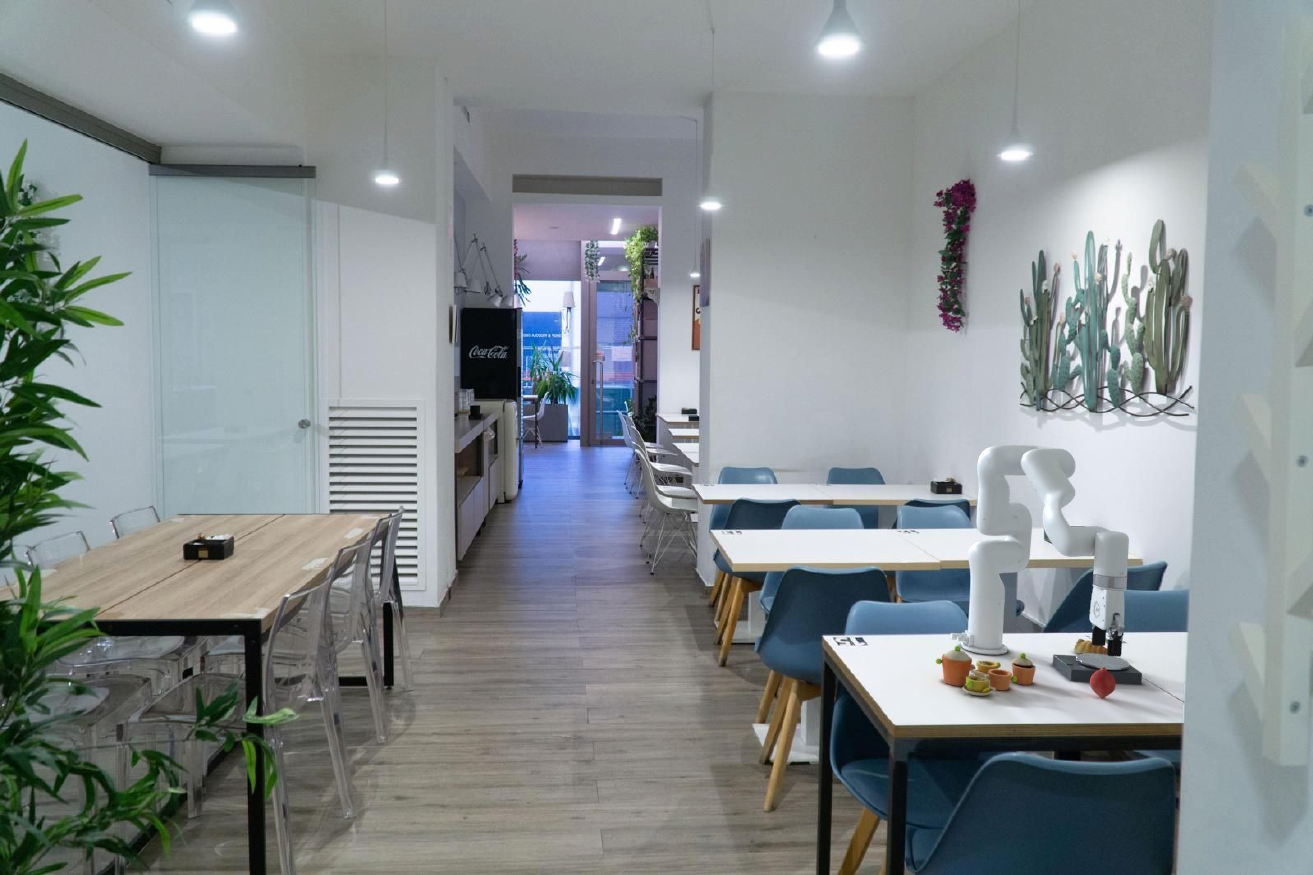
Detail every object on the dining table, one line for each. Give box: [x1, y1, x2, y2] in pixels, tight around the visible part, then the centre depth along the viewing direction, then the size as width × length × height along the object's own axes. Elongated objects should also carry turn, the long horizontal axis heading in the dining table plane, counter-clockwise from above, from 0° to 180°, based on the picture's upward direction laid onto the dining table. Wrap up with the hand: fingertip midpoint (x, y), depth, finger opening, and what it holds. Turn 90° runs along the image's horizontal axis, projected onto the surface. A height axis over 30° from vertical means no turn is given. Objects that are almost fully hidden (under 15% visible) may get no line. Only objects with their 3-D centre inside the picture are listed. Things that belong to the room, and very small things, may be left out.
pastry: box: [1073, 638, 1107, 655], centre depth 283 cm, size 9×7×4 cm
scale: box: [1052, 654, 1143, 685], centre depth 265 cm, size 18×14×3 cm
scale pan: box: [1075, 653, 1130, 670], centre depth 264 cm, size 13×13×1 cm
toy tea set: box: [935, 645, 1037, 696], centre depth 253 cm, size 26×16×10 cm, turn 122°
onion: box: [1089, 667, 1117, 699], centre depth 245 cm, size 6×6×8 cm
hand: (1106, 650), depth 244 cm, fingers open, 9 cm apart
